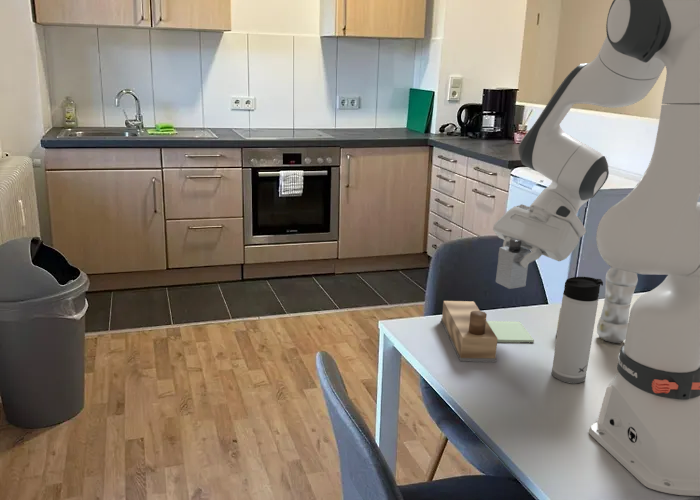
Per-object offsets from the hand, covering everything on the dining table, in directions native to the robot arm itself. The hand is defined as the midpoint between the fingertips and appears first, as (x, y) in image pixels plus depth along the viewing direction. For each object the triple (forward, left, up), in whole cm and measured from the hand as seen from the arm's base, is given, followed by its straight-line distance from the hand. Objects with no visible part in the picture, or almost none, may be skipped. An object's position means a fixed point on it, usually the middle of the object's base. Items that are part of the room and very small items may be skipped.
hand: (511, 261), depth 137 cm
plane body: (-4, +9, -17) cm, 19 cm away
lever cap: (0, -1, -5) cm, 5 cm away
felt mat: (0, 0, -17) cm, 17 cm away
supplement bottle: (-1, -14, -17) cm, 22 cm away
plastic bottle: (-3, -23, -17) cm, 29 cm away
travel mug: (-20, -7, -17) cm, 27 cm away
